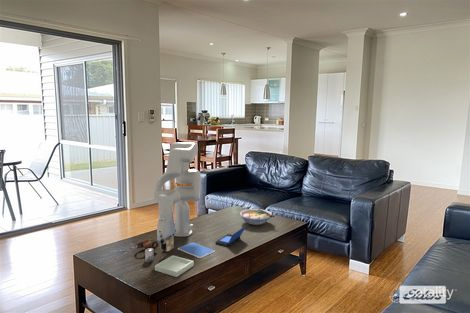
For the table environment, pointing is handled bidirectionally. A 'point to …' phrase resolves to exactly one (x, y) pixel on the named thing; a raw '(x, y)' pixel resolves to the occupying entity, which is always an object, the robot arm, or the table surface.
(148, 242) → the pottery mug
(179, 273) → the tray
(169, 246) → the beech block
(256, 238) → the table surface
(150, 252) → the grey canister
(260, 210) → the ramen bowl
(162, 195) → the robot arm
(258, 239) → the table surface
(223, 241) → the handheld game console
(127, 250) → the table surface
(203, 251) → the tablet computer
